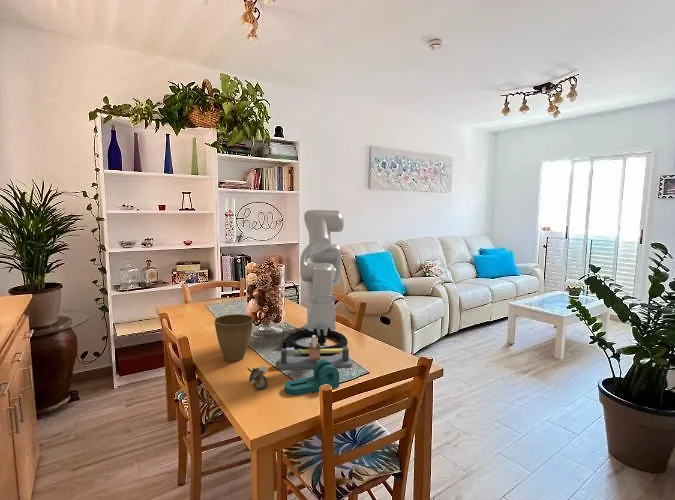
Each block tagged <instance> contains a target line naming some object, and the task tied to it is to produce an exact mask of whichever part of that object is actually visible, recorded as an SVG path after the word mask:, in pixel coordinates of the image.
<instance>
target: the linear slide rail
mask: <svg viewBox="0 0 675 500" xmlns="http://www.w3.org/2000/svg"><path fill="white" fill-rule="evenodd" d="M280 350H281V351H280V357H279V358H278V370H295V369H298V370H301V369H302V368H303V369H314V366H315V364H316V363H317V362H318V361H320V360H328V361H329V362H330V363H331V364H332V365H333V366H334V367H335V368H344V367H345V368H352V367H353V363H352V361H351V358H350V355H349V351H350V349H349V347H348V346H346V347H342V348H340V349H320V353H335V354H338V353H339V354H341V355H325V356H320V360H312V361H309V356H302V355H301V354H309V349H306V350H301V349H298V350H294V348H281V349H280ZM295 355H301V356H295ZM303 369H302V370H303Z"/></svg>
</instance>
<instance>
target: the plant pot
mask: <svg viewBox="0 0 675 500" xmlns="http://www.w3.org/2000/svg"><path fill="white" fill-rule="evenodd" d="M213 320H214V327H215V332H216V336H217V341H218V345H219V347H220V350H221V353H222V356H223V358H224V360H225V361H227V362H238V361H241V360H243V359H244V357H245V355H246V352H247V349H248V346H249V343H250V338H251V334H252V331H253V330H252V329H253V324H254V317H253V316H251V315H248V314H243V313H242V314H241V313H239V314H235V313H234V314H233V313H232V314H225V315H221V316H218V317H216V318H215V319H213Z"/></svg>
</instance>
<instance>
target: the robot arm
mask: <svg viewBox="0 0 675 500" xmlns="http://www.w3.org/2000/svg"><path fill="white" fill-rule="evenodd" d="M303 219H304V224H305V226H306V229H307V231H308V238H309V239H308V243H309V244H308V245H306V247H305V248H304V249H303V251H302V253H301V255H300V261H299V262H300V263H299V264H300V265H299V272H300V273H299V276H300V278H301V279H300V280H302V281H304V282H306V290H307V292H306V293H307V297H306V298H307V302H306V303H307V305H306V308H307V310H306V311H307V313H306V315H307V316H306V321H307V322H306V323H305V324H304V325H303V330H304V329H308V330H309V331H314V332H315V333H316V334H317V335H318V336H317V343H319V345H320V347H325V344H326V342H327V337H326V335H327V334H328V333H329V332H330V331H336V329H337V328H336V308H335V302H334V300H337V295H335V294H333V286H337V285H339V284H340V283H341V282H342V265H343V264H342V258H343V257H342V247H341V246H340V245H339V244H336V243H335V244H334V243H333V244H332V239H331V233H340V232H342V231H343V229H344V225H345V222H344V221H345V220H344V217H343V214H342V212H341V211H340V210H337V209H336V210H334V209H310V210H306V211H305V212H304V214H303ZM308 259H309V261H310V262H308ZM320 329H323V333H322V335H321V332H320Z"/></svg>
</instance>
